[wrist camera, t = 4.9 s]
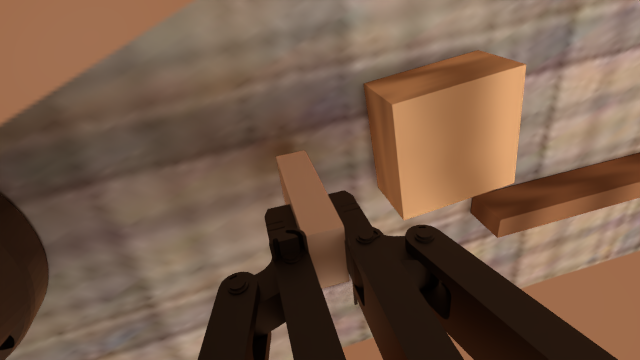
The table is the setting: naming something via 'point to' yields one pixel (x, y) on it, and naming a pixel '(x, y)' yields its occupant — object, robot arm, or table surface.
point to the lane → (558, 196)
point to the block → (445, 130)
